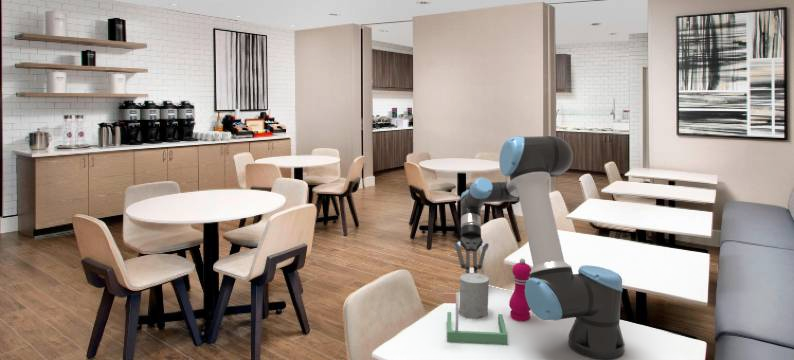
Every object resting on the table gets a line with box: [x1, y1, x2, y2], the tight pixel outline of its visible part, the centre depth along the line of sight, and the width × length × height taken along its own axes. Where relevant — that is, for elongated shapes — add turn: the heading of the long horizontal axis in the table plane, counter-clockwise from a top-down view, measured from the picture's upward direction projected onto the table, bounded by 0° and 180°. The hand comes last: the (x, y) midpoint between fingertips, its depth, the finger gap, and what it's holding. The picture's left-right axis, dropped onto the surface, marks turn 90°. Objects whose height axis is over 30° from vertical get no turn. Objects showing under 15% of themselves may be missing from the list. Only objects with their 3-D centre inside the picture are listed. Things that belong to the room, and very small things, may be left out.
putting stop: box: [442, 292, 509, 345], centre depth 156 cm, size 19×14×15 cm
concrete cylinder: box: [458, 272, 490, 320], centre depth 170 cm, size 10×10×12 cm
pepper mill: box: [508, 258, 532, 322], centre depth 166 cm, size 7×7×20 cm
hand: (471, 286), depth 181 cm, fingers closed
